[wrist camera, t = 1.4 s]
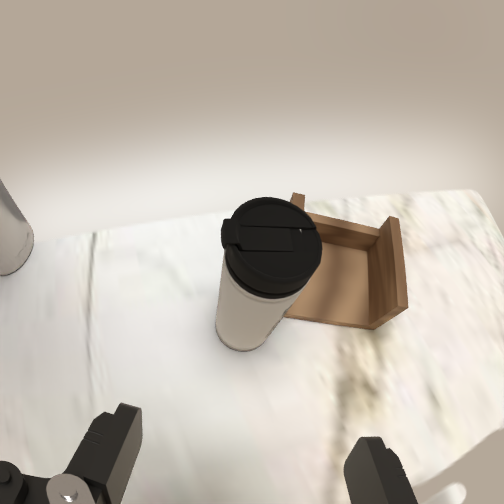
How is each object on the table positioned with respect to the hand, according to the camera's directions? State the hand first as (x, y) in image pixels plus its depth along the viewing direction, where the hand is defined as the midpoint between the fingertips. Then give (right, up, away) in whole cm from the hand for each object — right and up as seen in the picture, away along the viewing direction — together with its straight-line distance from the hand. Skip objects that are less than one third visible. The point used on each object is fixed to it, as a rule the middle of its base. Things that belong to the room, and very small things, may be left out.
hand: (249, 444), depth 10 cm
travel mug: (-1, -2, +27) cm, 27 cm away
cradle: (+10, +3, +31) cm, 33 cm away
